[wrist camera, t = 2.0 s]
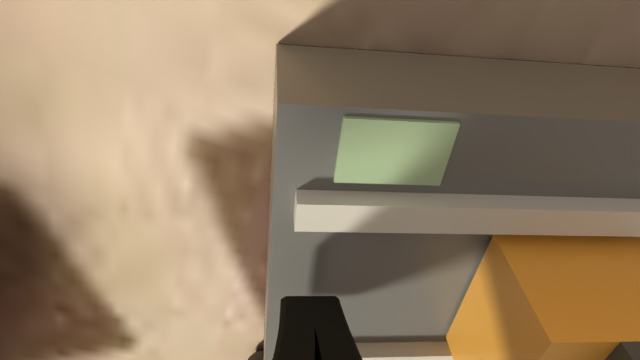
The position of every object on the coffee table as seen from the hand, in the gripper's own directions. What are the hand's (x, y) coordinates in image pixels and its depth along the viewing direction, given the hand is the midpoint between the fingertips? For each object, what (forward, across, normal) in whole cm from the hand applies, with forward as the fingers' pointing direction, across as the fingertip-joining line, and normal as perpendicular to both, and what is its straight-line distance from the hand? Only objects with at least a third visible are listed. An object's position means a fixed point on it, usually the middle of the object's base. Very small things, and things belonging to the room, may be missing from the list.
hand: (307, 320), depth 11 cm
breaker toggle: (+1, -7, 0) cm, 7 cm away
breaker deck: (+4, -6, 0) cm, 8 cm away
